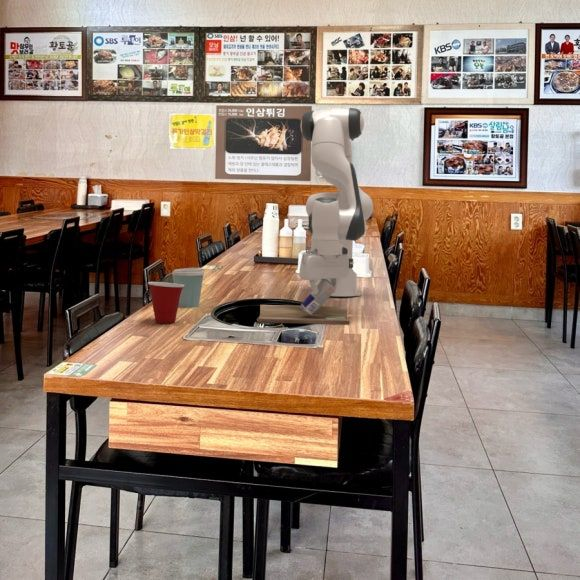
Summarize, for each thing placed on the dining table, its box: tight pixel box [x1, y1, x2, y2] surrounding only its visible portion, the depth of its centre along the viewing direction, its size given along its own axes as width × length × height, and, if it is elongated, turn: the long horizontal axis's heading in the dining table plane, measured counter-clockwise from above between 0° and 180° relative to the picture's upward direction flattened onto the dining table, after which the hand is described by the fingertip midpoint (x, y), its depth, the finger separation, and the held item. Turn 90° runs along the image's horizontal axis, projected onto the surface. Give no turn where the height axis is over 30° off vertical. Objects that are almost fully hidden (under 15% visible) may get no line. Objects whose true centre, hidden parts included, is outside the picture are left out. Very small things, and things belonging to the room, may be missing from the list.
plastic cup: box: [147, 281, 184, 324], centre depth 197 cm, size 11×11×12 cm
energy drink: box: [299, 279, 336, 317], centre depth 207 cm, size 5×5×12 cm
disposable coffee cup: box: [171, 267, 205, 309], centre depth 220 cm, size 11×11×15 cm
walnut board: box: [257, 304, 351, 325], centre depth 207 cm, size 12×28×4 cm, turn 89°
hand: (323, 293), depth 207 cm, fingers closed on energy drink, 7 cm apart
